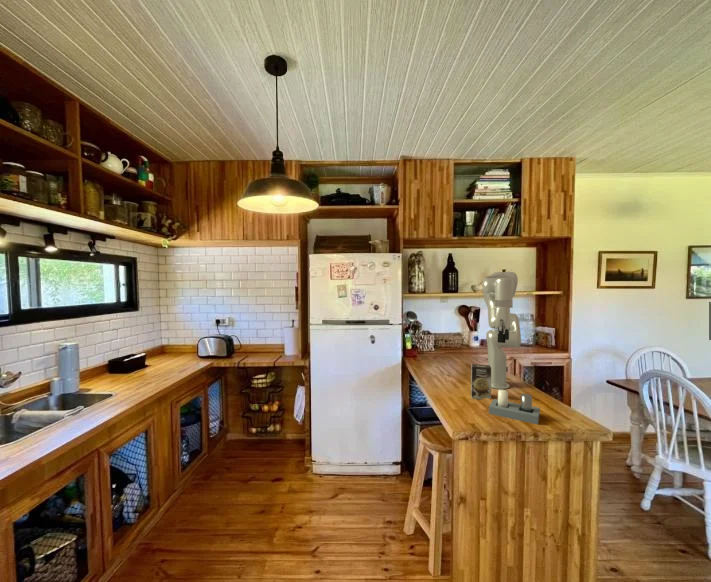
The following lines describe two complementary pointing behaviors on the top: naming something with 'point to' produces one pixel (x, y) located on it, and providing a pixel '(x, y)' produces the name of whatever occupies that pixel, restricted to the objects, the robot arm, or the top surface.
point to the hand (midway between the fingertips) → (503, 341)
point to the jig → (515, 412)
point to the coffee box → (480, 381)
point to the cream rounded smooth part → (503, 398)
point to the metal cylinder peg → (526, 403)
